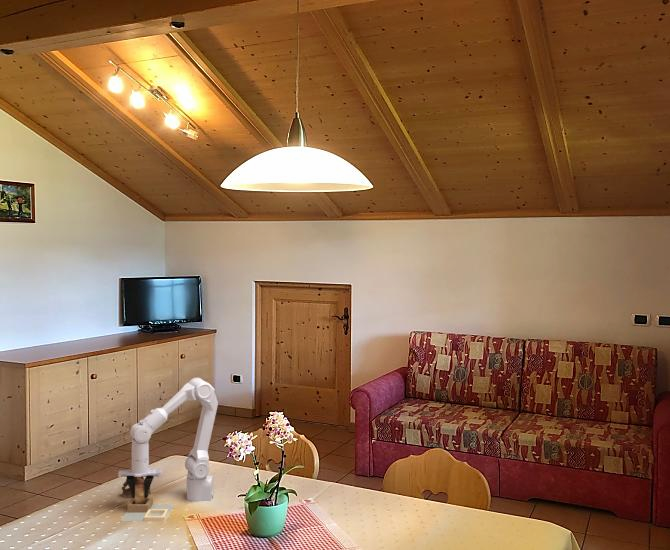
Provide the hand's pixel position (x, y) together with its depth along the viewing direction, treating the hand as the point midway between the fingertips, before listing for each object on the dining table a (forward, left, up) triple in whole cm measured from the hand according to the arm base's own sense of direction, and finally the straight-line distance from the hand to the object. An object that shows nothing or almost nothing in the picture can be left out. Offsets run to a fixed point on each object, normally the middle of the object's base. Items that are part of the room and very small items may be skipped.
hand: (140, 497), depth 233 cm
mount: (-4, +3, -5) cm, 7 cm away
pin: (0, 0, -2) cm, 2 cm away
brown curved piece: (+5, -15, -5) cm, 16 cm away
